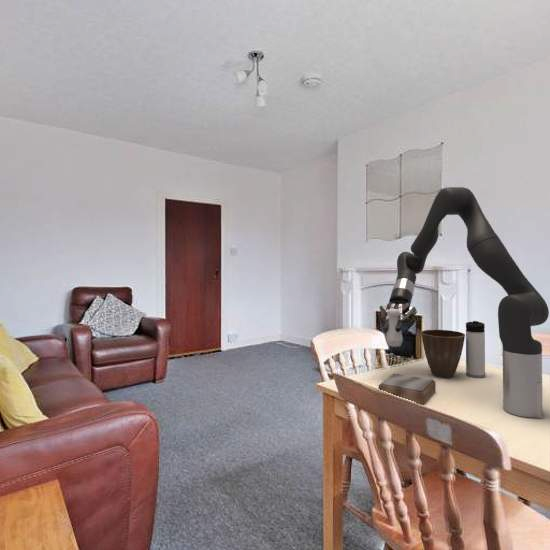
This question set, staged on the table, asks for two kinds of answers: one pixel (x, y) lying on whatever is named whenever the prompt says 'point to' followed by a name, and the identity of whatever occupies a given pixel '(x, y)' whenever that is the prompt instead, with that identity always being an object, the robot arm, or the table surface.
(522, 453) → the table surface
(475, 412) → the table surface
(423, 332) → the plant pot
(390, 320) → the salt shaker
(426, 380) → the plinth
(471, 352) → the travel mug
